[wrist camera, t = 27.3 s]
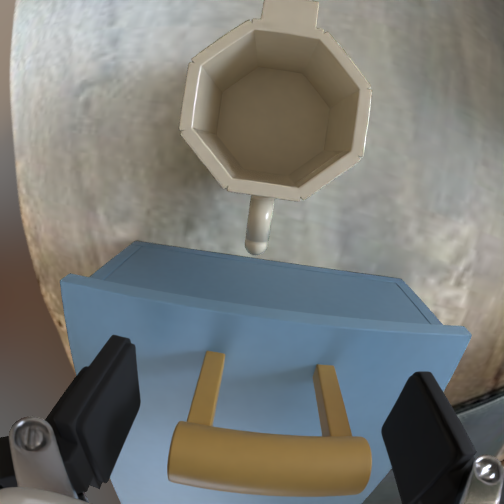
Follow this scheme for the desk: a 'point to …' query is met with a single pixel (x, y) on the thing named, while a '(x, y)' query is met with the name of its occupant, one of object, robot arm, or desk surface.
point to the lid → (253, 394)
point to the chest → (265, 283)
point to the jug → (275, 110)
